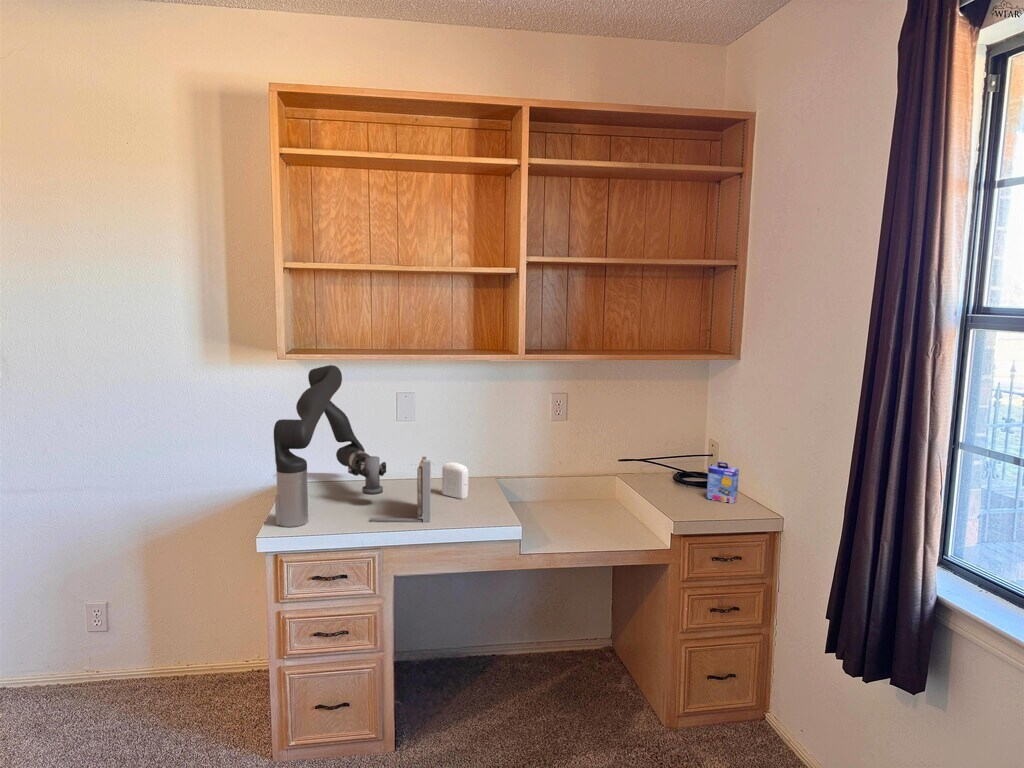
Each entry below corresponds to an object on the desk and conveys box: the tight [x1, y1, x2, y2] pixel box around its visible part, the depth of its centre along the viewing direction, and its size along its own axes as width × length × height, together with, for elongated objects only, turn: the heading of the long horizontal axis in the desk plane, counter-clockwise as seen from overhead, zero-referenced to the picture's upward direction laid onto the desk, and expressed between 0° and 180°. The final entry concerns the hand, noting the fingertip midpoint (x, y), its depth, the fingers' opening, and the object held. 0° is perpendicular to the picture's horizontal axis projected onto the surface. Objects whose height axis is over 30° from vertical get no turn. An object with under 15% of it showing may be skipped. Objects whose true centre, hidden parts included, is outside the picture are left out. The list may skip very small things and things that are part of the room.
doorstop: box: [361, 455, 384, 496], centre depth 242 cm, size 7×7×12 cm
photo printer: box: [441, 461, 469, 500], centre depth 253 cm, size 10×4×12 cm, turn 56°
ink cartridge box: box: [706, 461, 740, 504], centre depth 254 cm, size 10×6×14 cm, turn 56°
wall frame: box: [369, 459, 432, 523], centre depth 224 cm, size 19×2×20 cm, turn 92°
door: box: [416, 456, 432, 518], centre depth 232 cm, size 17×3×16 cm, turn 2°
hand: (374, 473), depth 239 cm, fingers closed on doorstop, 4 cm apart
